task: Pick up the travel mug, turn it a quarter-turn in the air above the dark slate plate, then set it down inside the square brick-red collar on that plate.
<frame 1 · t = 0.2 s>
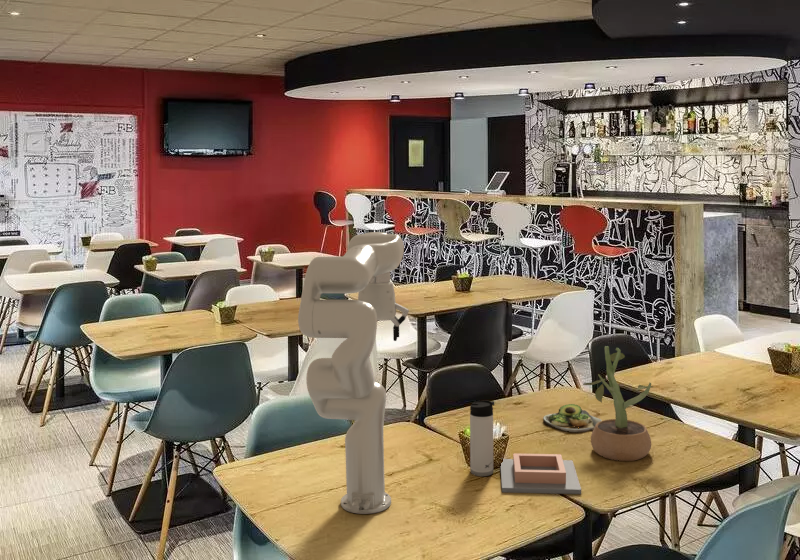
hand: (377, 339, 214), 37 cm above the table, tool pointing down, fingers open, 9 cm apart
potted plant: (615, 449, 230), on the table
collar plate: (538, 477, 210), on the table
salad plate: (572, 424, 254), on the table
travel mug: (482, 472, 214), on the table
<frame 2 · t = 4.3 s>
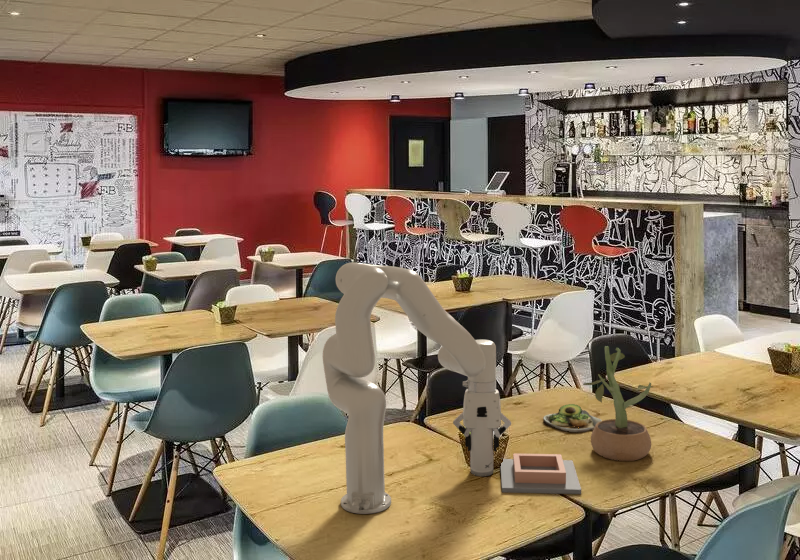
hand: (482, 448, 213), 7 cm above the table, tool pointing down, fingers closed on travel mug, 6 cm apart
travel mug: (482, 472, 214), on the table, touching gripper
everything else where it was.
when the fingers open (9 cm above the table, at t = 11.7 s): travel mug drops 1 cm, resting on collar plate.
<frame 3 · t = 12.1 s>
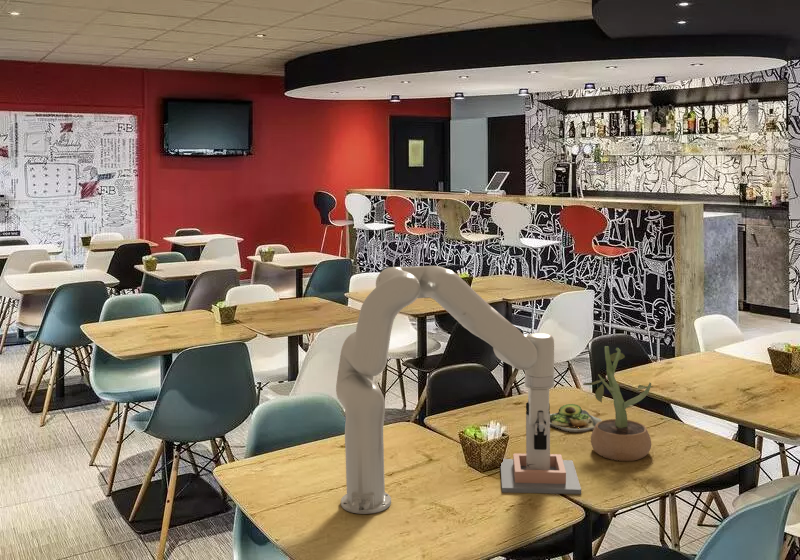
hand: (538, 442, 208), 10 cm above the table, tool pointing down, fingers open, 9 cm apart
travel mug: (538, 474, 209), point 1 cm above the table, touching collar plate
everything else where it was.
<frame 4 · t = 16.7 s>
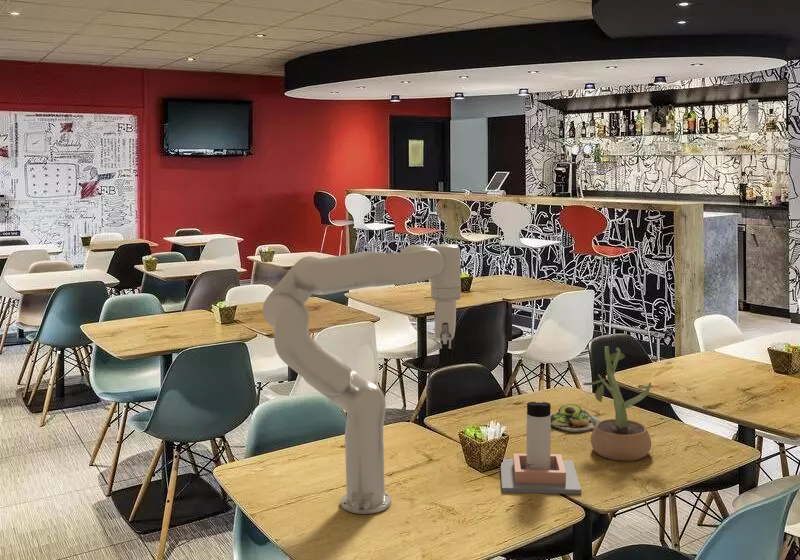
hand: (446, 359, 201), 34 cm above the table, tool pointing down, fingers open, 9 cm apart
nothing on the table moved.
at the end: travel mug 0.3 cm off-centre on the collar plate, point 1.0 cm above the collar plate's base; travel mug tilted 0°; the gripper is holding nothing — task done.
